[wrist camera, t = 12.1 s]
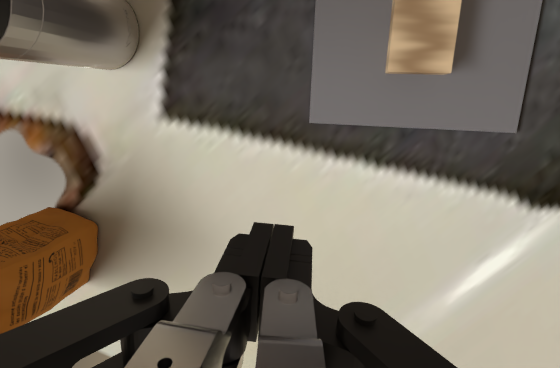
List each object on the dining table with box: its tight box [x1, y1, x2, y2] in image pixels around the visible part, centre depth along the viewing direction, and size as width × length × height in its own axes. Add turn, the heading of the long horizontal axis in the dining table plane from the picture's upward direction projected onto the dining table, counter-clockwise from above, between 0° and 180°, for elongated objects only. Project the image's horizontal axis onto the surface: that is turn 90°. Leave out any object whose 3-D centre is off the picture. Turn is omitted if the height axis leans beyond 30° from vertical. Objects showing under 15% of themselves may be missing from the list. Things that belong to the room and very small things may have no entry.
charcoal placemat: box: [309, 0, 542, 133], centre depth 37 cm, size 22×20×1 cm
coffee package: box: [0, 207, 98, 334], centre depth 43 cm, size 10×12×22 cm
